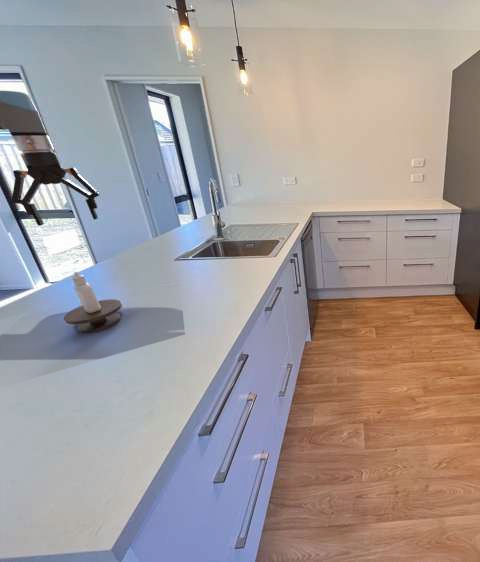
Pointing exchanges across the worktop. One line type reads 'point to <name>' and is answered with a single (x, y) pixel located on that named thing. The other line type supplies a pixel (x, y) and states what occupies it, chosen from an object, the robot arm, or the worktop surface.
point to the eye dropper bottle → (86, 294)
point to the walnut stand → (95, 317)
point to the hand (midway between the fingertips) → (69, 221)
